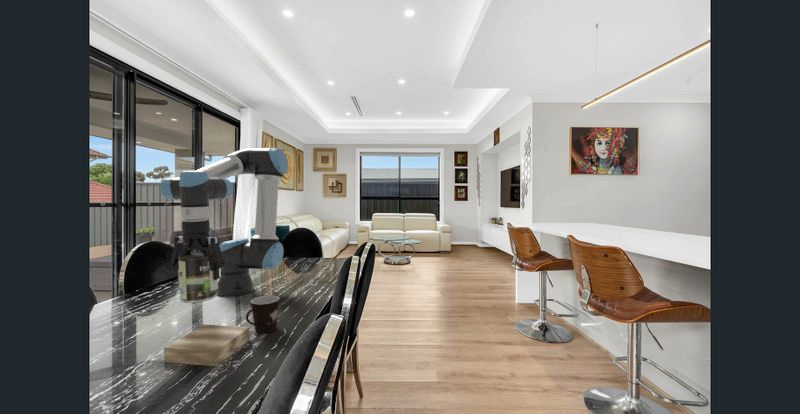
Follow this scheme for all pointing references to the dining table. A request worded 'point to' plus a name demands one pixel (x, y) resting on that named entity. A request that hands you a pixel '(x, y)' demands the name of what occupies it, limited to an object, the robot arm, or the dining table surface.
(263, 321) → the coffee mug
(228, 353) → the oak riser
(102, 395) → the dining table surface
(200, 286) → the coffee can
